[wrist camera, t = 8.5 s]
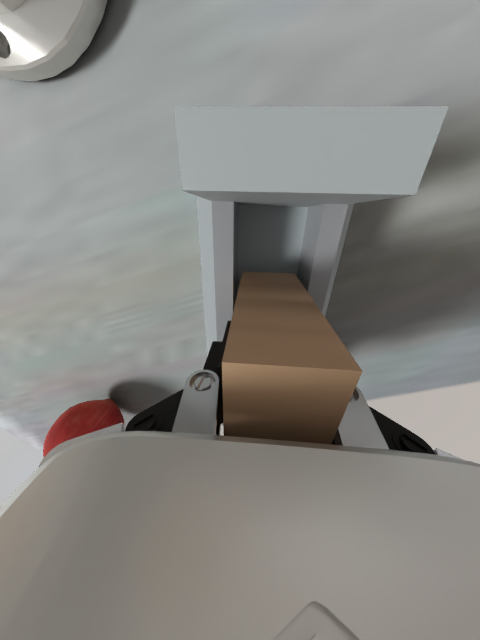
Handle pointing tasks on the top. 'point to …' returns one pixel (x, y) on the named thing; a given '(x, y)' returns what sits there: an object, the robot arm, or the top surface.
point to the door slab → (283, 364)
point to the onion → (82, 421)
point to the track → (291, 187)
